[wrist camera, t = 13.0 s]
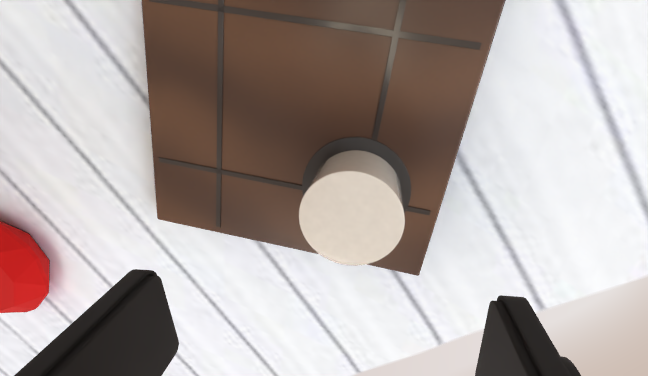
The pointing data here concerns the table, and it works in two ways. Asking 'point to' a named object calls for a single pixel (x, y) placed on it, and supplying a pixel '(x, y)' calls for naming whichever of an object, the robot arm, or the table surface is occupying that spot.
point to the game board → (308, 105)
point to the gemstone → (21, 271)
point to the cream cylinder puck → (353, 209)
